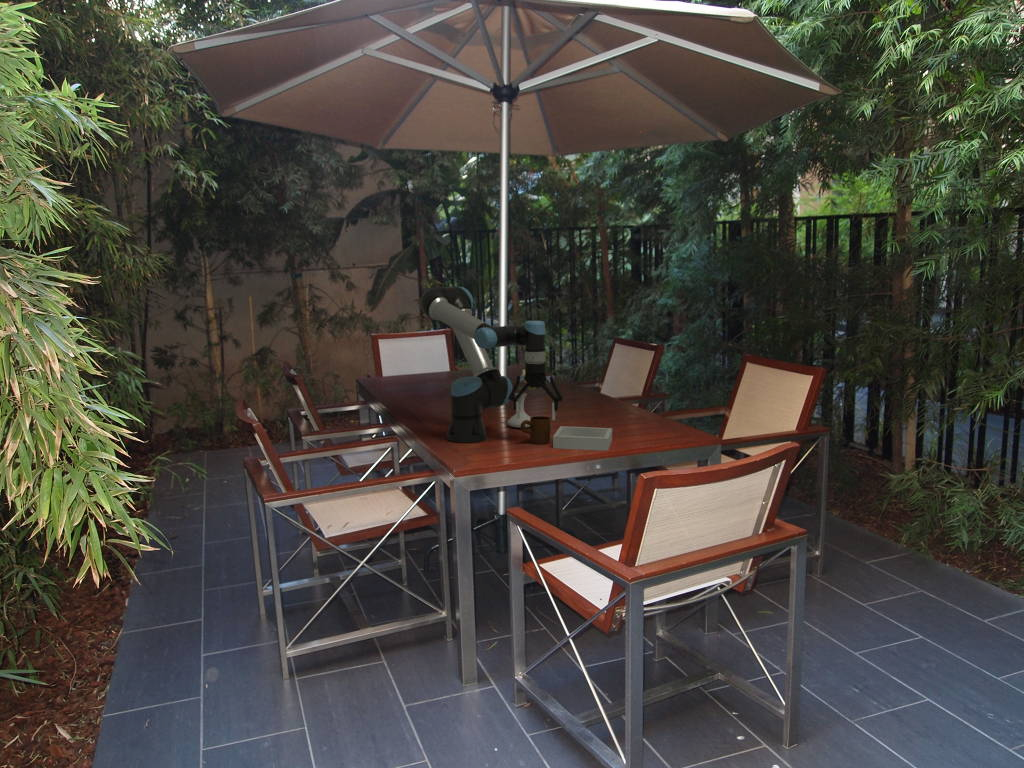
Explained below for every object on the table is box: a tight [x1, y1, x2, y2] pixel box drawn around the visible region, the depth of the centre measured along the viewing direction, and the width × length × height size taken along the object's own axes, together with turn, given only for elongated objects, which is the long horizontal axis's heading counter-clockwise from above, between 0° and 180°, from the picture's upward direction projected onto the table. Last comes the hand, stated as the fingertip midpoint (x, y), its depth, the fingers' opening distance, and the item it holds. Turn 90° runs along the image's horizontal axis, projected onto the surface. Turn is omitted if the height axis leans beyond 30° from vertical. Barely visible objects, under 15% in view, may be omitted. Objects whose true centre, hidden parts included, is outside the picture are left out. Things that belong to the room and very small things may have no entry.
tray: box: [552, 425, 613, 452], centre depth 300 cm, size 20×18×4 cm
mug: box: [520, 415, 551, 445], centre depth 302 cm, size 12×8×9 cm, turn 117°
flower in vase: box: [507, 368, 536, 429], centre depth 330 cm, size 13×11×25 cm
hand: (535, 419), depth 301 cm, fingers open, 13 cm apart
